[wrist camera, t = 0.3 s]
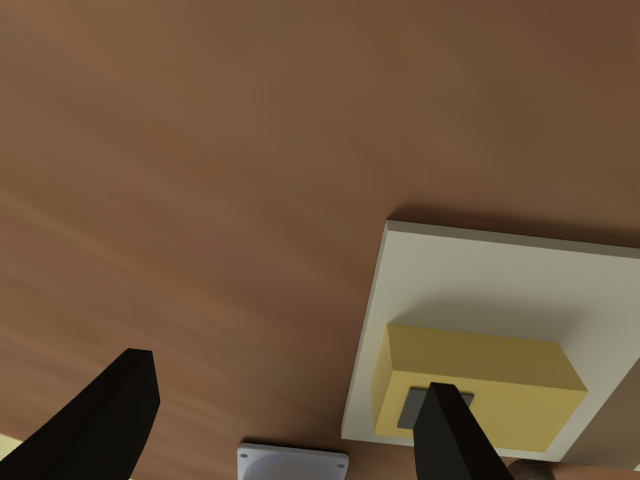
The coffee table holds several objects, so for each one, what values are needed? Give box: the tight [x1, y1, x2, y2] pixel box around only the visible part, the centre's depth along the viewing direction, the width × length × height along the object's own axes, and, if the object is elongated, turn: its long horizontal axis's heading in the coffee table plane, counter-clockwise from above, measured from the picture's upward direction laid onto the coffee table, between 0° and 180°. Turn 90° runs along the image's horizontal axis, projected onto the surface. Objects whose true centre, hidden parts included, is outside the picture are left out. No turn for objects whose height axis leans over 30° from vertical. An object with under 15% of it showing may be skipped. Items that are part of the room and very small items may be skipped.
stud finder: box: [371, 324, 588, 453], centre depth 21 cm, size 5×9×3 cm, turn 84°
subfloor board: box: [341, 220, 640, 471], centre depth 22 cm, size 16×24×1 cm, turn 84°
